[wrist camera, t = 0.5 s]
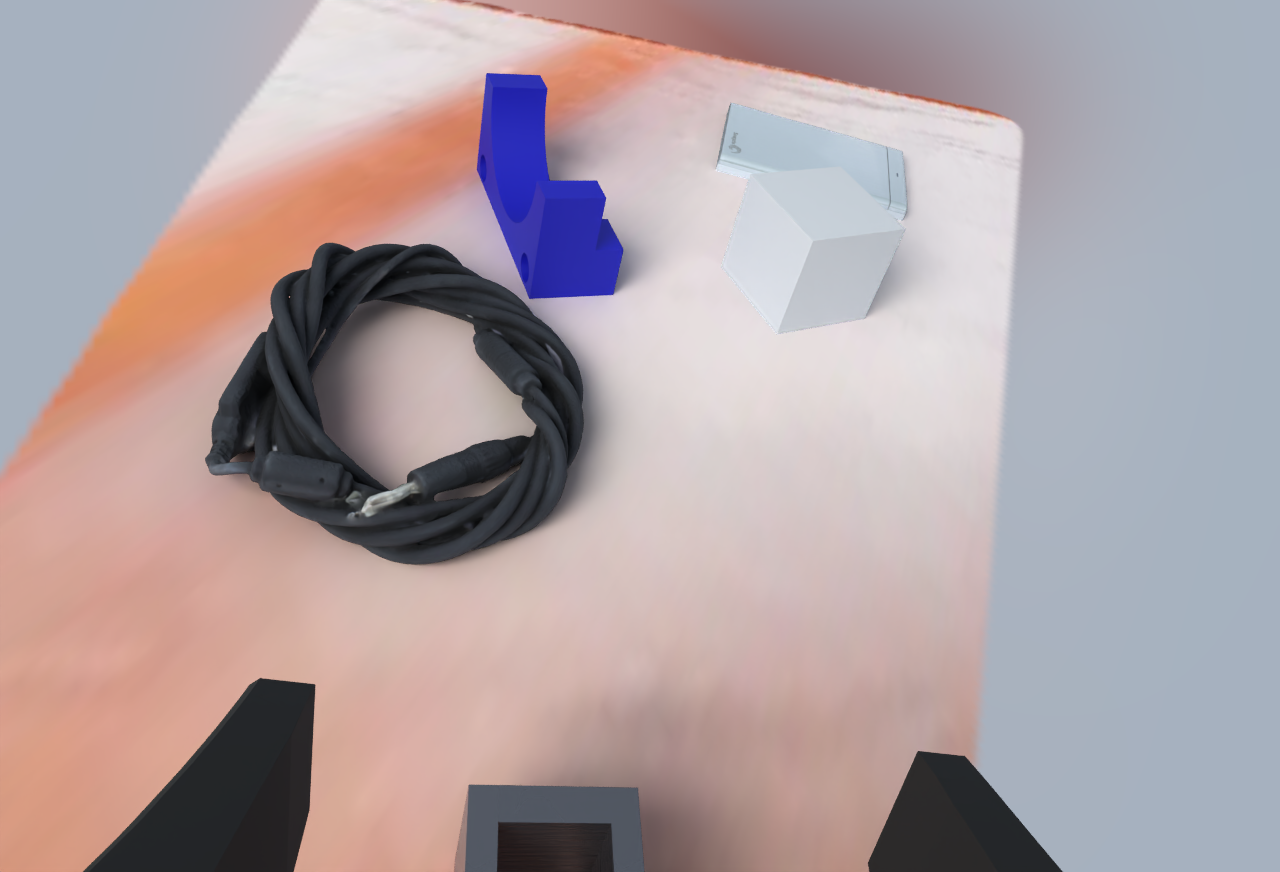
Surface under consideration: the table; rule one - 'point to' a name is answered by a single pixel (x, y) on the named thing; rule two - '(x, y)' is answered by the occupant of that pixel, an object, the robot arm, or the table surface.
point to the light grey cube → (810, 248)
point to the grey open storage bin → (550, 829)
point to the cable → (409, 516)
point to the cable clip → (542, 198)
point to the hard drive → (809, 154)
